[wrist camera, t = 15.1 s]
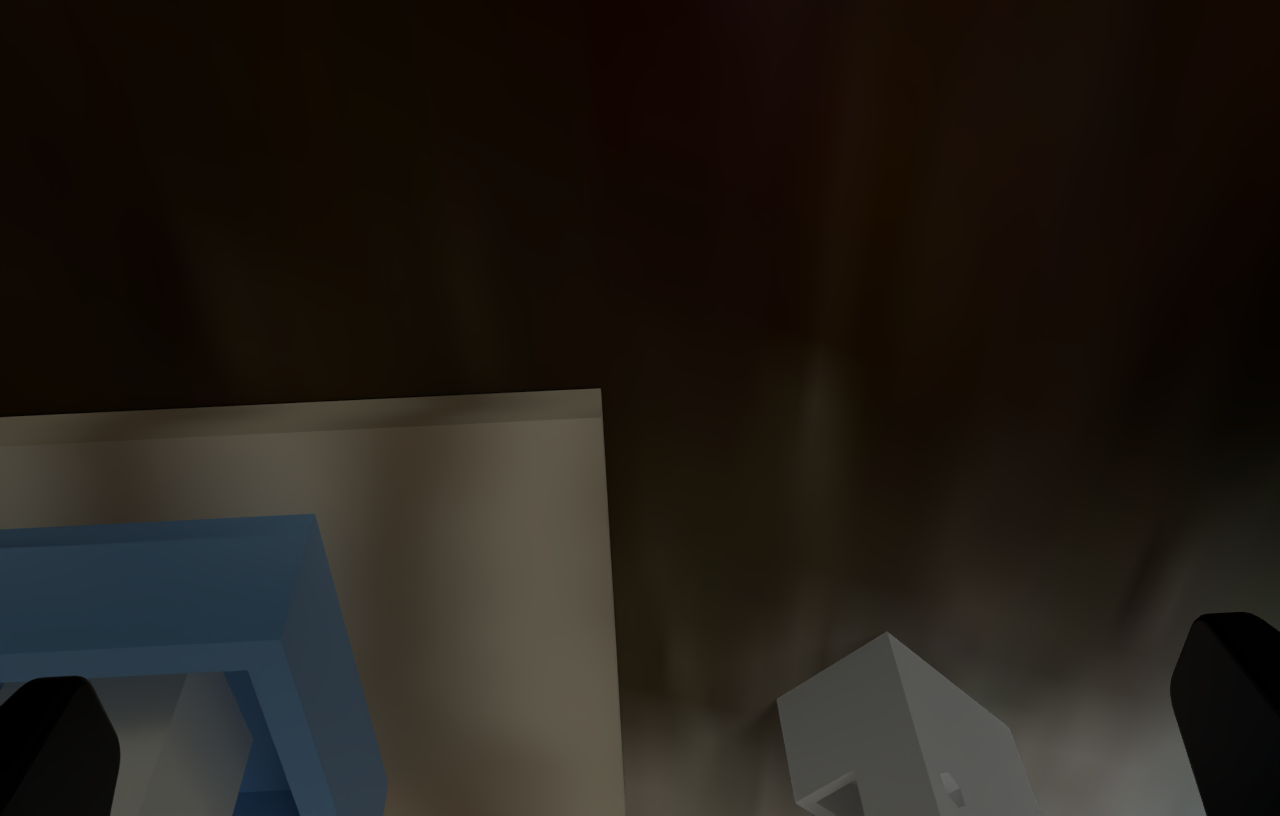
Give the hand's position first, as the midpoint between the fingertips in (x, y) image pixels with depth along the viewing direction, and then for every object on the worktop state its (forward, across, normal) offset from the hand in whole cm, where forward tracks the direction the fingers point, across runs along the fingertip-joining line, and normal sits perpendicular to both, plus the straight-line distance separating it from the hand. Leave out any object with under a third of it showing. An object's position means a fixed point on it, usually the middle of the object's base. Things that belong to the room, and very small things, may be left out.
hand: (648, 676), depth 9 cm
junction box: (+12, +12, +14) cm, 21 cm away
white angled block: (+13, -7, +18) cm, 23 cm away
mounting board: (+13, +12, +14) cm, 22 cm away
